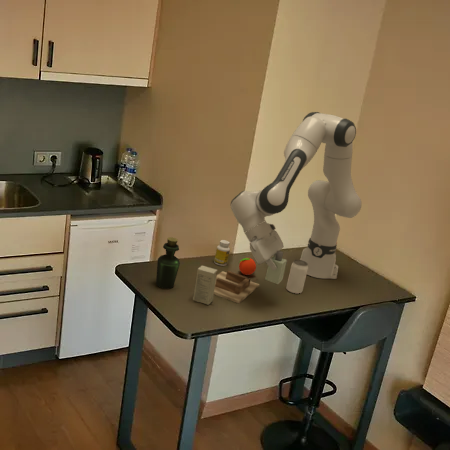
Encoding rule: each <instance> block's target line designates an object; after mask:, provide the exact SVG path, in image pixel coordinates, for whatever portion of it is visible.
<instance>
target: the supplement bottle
mask: <svg viewBox="0 0 450 450" xmlns="http://www.w3.org/2000/svg"><path fill="white" fill-rule="evenodd" d="M230 243H231V242H230V241H228V240H225V239H221V240H220V241H219V244H218V245H217V246H216V250H215V256H214V259H213V260H214V261H213V262H214V264H215V265H217V266H221V267H224V266H225V267H226V266H227V265H228V261H229V255H230V251H231V249H230Z"/></svg>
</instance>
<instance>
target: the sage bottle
mask: <svg viewBox="0 0 450 450" xmlns="http://www.w3.org/2000/svg"><path fill="white" fill-rule="evenodd" d="M283 257H284V252H283V251H282V250H279V251H277V253H276V256H274V255H273V256H272V257H271V258H272V261H273V262H274V264H275V263H276V265H277V267H278V268H277V269H276V270H272V269H271V267H270V266H269V265H268V264H267V269H266V270H267V271H266V274H265V278H264V279H265V281H268V282H270V283H274V284H276V285H279V284H280V283H281V282H282V281H283V278H284V275H285V270H286V265H287V262H288V260H287V259H285V258H283Z"/></svg>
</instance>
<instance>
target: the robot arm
mask: <svg viewBox="0 0 450 450" xmlns="http://www.w3.org/2000/svg"><path fill="white" fill-rule="evenodd" d="M356 134H357V128H356V125H355V123H354V122H353V121H352V120H350V119H348V118H343V117H340V116H338V115H335V114H328V113H323V112H322V113H321V112H318V111H311V112H309V113H307V114H306V115H305V116H304V117H303V119H302V121H301V122H300V124H299V125H298V126H297V128H296V129H295V130H294V131H293V133H292V135H291V136H290V137H289V139H288V140H287V144H286V146H285V148H284V151H283V156H284V159H285V160H284V162H283V165H282V167H281V169H280V170H279V172H278V173H277V175H276V177H275V179H274V180H273V181H272V182H271V183H269V184H268V185H266V186H265V187H264V188H263V189H261V190H257V191H256V190H254V191H252V190H251V191H248V190H242V191H241V192H239V193H238V194H237V195H236V196H235V197H233V199H231V201H230V208H231V211H232V214H233V215H234V217H235V220H236V221H237V222H238V224H239V225H240V226H241V227H242V230H243V232H244V234H245V236H246V238H247V240H248V241H249V250H250V252H251V254H252V256H253V258H254V261H255V263H257V264H258V265H261V264H264V263H266V265H267V266H268V265H269V266H270V267H271V269H272V270H276V269H277V268H278V267H277V265H276V263H275V264H274V262H273V261H272V257H273V256H276V253H277V251H282V249H283V248H284V242H283V240H282V238H281V235H279V233H278V232H277V230H276V226H275V224H273V223H268V222H267V221H266V219H265V218H266V217H270V216H273V215H275V214H279V213H281V212H283V211H284V210H285V209H286V207H287V206H288V204H289V197H290V190H291V188H292V186H294V183H295V182H296V180H297V178H298V176H299V174H300V172H301V171H302V170H303V169H304V168H305V167H306V166H308V164H309V163H310V162H311V160H312V159H313V158H314V157H315V155H316V153H317V152H318V151H319V148H320V146H321V145H322V144H325V147H324V156H323V166H322V172H323V174H324V176H325V178H326V179H327V181H326V180H320V179H319V180H318V179H317V180H314V181H313V182H312V183H311V184H310V185H309V186H308V187H309V188H308V190H307V196H308V199H309V201H310V203H311V206H312V210H313V225H312V231H311V235H310V237H309V239H308V242H307V247H304V248H303V250H302V252H301V255H300V258H299V260H302V261H305V262H307V263H308V265H307V266H308V270H307V275H308V276H311V277H312V278H317V279H331V280H336V279H337V278H338V271H339V265H337V264H336V262H337V261H336V258H337V254H336V252H337V247H338V246H337V244H338V238H339V234H340V230H341V227H340V224H339V222H338V220H337V219H336V215H337V216H339V217H343V218H346V219H347V218H349V219H352V218H355V216H357V215H358V214H359V213H360V212H361V210H362V209H361V208H362V199H361V197H360V196H359V194H358V193H357V191H356V189H355V185H354V183H353V179H352V162H353V161H352V160H353V149H354V148H353V144H354V140H355V139H356ZM307 275H306V276H307Z"/></svg>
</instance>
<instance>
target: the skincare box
mask: <svg viewBox="0 0 450 450" xmlns="http://www.w3.org/2000/svg"><path fill="white" fill-rule="evenodd" d="M217 275H218V269H216V268H212V267H209V266H206V265H200V266H199V267H198V268H197V271H196V277H195V284H194V291H193V294H192V296H193V297H192V301H195V302H197V303H201V304H204V305H207V306H208V305H210V304H211V303H212V302H213V299H214V295H215V294H214V288H215V283H216V277H217Z"/></svg>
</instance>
